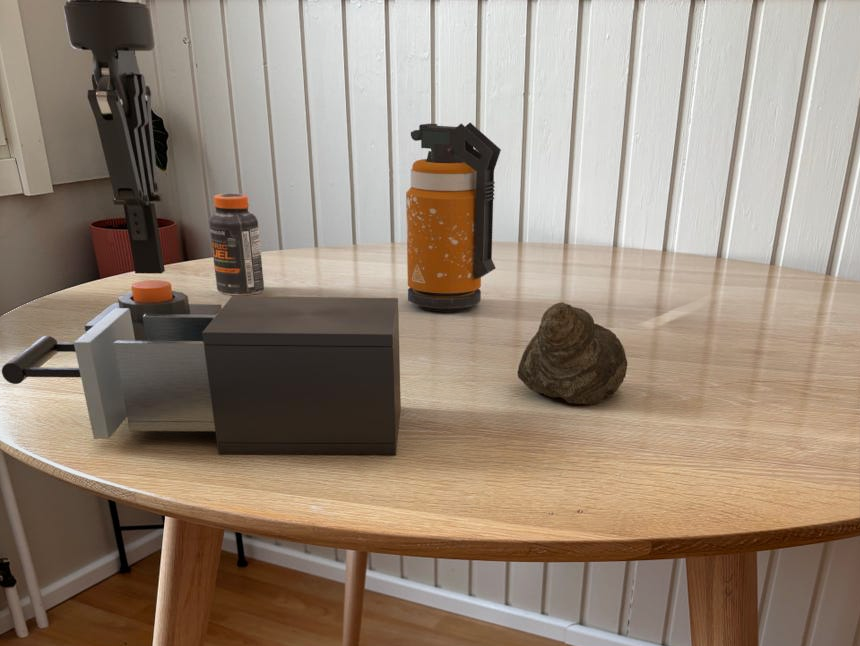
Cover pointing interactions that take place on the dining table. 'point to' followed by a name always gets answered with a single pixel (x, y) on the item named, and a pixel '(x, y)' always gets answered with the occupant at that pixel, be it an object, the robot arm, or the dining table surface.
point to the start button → (152, 291)
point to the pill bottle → (236, 246)
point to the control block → (155, 310)
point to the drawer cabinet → (305, 375)
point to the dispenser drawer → (133, 372)
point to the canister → (450, 217)
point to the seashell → (573, 357)
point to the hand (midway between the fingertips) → (150, 271)
